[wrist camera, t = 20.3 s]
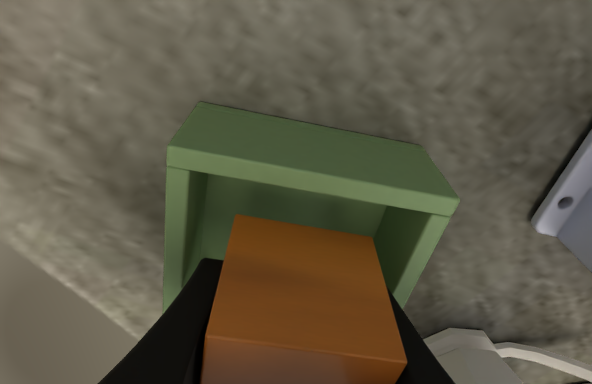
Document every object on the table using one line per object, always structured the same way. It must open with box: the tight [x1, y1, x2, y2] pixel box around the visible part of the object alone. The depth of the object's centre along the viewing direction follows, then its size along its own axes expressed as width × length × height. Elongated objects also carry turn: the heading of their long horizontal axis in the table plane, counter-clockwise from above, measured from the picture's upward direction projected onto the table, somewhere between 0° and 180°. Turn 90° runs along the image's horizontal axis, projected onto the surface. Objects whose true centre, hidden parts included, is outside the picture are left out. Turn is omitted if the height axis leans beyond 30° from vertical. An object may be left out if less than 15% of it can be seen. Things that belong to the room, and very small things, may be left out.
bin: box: [163, 102, 460, 313], centre depth 13 cm, size 8×8×4 cm
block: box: [199, 214, 407, 384], centre depth 10 cm, size 4×4×4 cm
